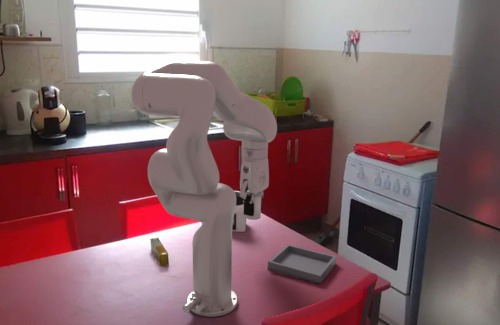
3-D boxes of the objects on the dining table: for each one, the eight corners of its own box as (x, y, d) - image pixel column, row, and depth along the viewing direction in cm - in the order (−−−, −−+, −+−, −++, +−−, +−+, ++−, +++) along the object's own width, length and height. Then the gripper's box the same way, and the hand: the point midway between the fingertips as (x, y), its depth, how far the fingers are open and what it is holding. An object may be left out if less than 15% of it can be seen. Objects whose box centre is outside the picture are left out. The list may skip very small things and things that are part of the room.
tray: (319, 284, 123) (320, 276, 122) (267, 269, 130) (268, 261, 130) (336, 264, 134) (336, 256, 134) (287, 251, 142) (287, 244, 141)
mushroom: (256, 221, 132) (257, 195, 130) (241, 217, 134) (242, 192, 132) (264, 216, 136) (265, 190, 134) (249, 212, 138) (250, 188, 136)
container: (245, 232, 156) (246, 196, 153) (223, 231, 156) (223, 196, 153) (246, 223, 163) (246, 189, 160) (225, 223, 164) (225, 189, 160)
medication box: (150, 250, 142) (149, 238, 141) (159, 248, 143) (158, 236, 142) (160, 267, 131) (159, 254, 130) (169, 265, 132) (168, 252, 131)
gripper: (251, 160, 121) (250, 224, 126) (279, 149, 136) (276, 206, 140) (228, 157, 125) (227, 218, 129) (257, 146, 139) (255, 202, 144)
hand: (253, 211), depth 135 cm, fingers closed on mushroom, 4 cm apart
